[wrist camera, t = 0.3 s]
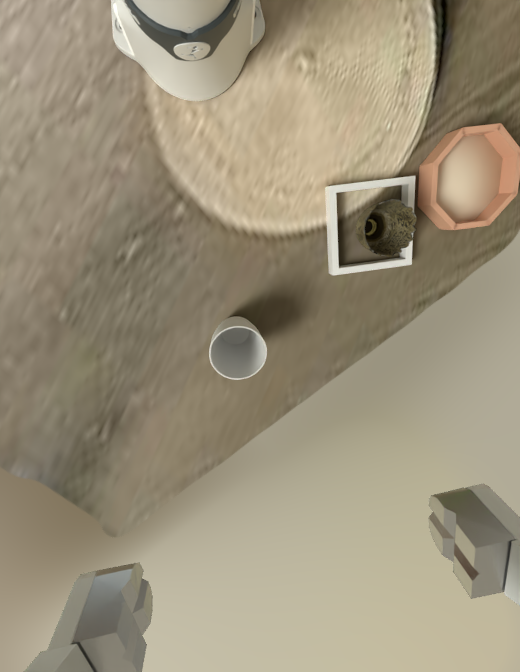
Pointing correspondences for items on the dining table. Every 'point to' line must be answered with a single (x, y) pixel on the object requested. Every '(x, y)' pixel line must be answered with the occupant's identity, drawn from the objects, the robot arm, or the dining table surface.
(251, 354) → the cup
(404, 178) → the open white square frame
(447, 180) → the bowl
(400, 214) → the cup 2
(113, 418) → the dining table surface
